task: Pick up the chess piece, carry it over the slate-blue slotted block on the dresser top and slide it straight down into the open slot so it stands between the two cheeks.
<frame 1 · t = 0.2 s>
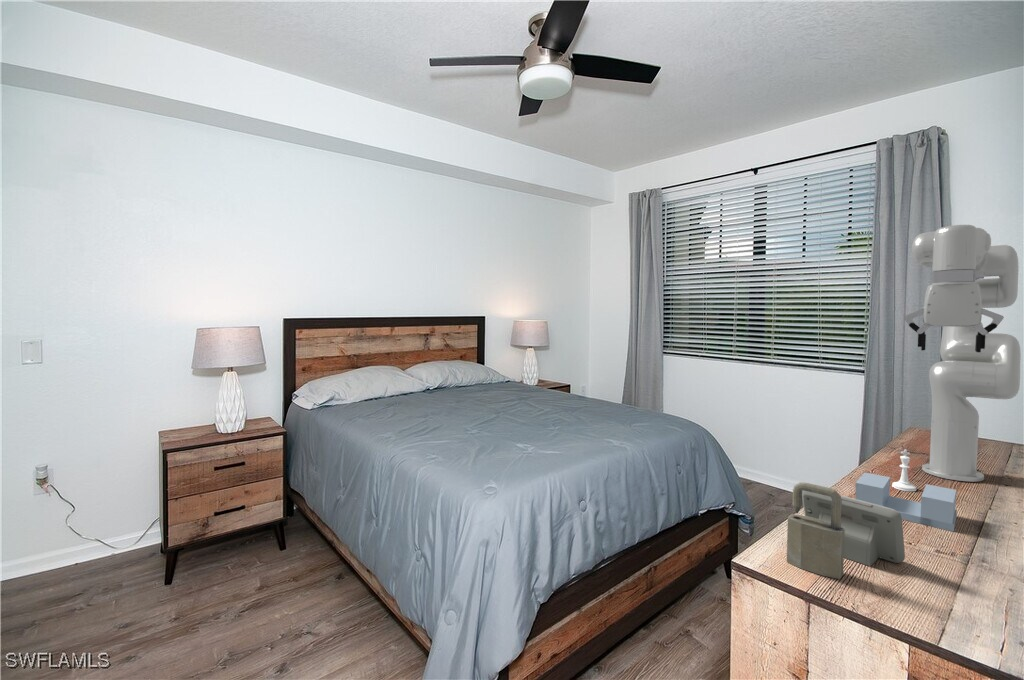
hand: (949, 351, 113), 36 cm above the dresser, fingers open, 9 cm apart
chess piece: (903, 488, 122), on the dresser
slot block: (903, 512, 107), on the dresser
padlock: (814, 569, 85), on the dresser
digital clock: (849, 551, 91), on the dresser
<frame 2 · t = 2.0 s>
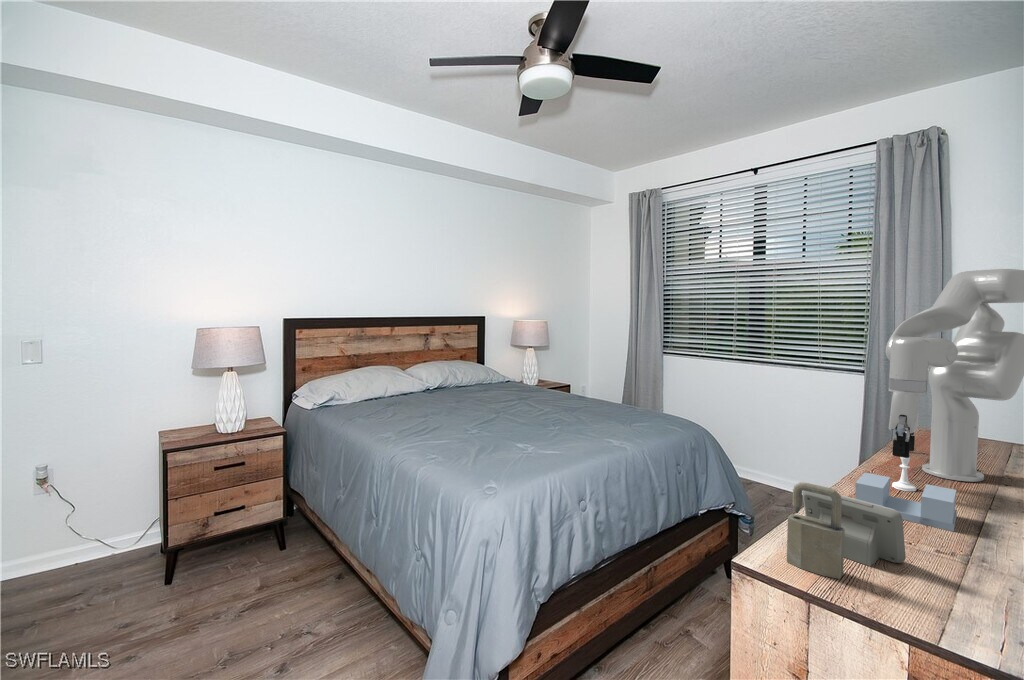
hand: (903, 453, 121), 9 cm above the dresser, fingers open, 9 cm apart
nothing on the dresser moved.
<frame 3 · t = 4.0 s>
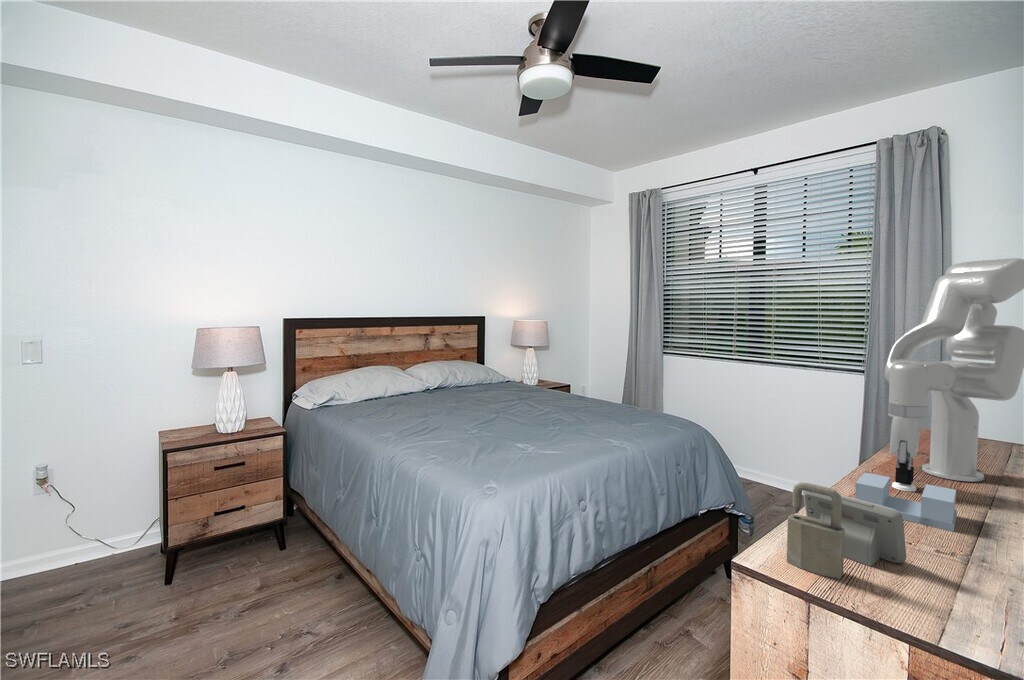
hand: (904, 481, 122), 2 cm above the dresser, fingers closed on chess piece
chess piece: (903, 488, 122), on the dresser, touching gripper
everything else where it was.
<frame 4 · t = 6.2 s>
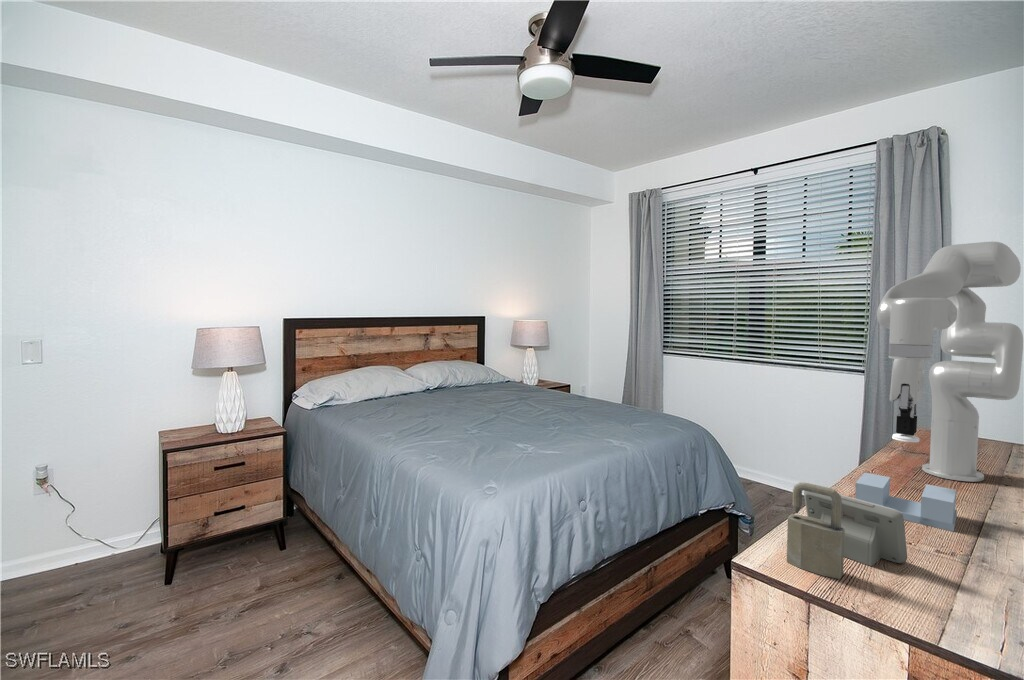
hand: (906, 432, 108), 18 cm above the dresser, fingers closed on chess piece
chess piece: (905, 440, 108), point 16 cm above the dresser, touching gripper
everything else where it was.
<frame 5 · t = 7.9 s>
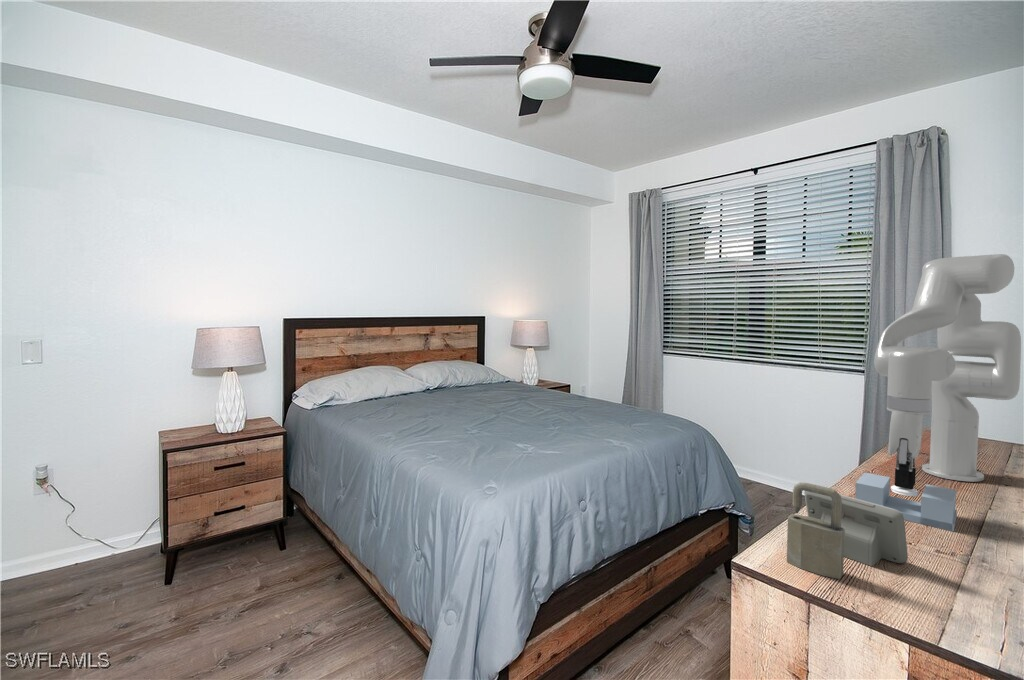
hand: (904, 485, 107), 6 cm above the dresser, fingers closed on chess piece
chess piece: (904, 493, 107), point 4 cm above the dresser, touching gripper
everything else where it was.
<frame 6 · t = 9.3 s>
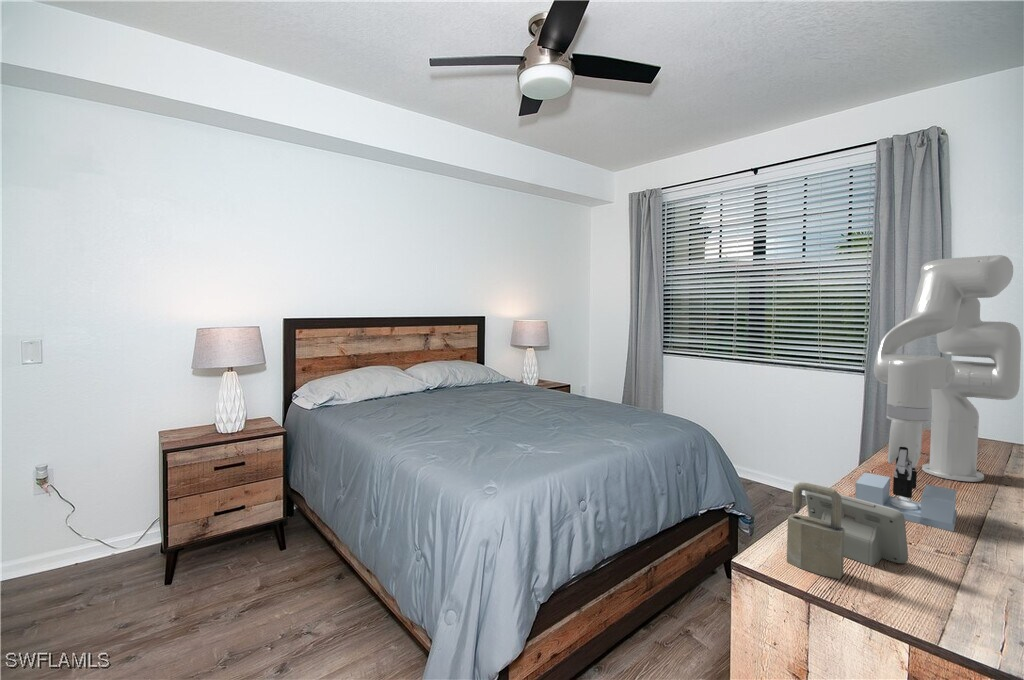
hand: (904, 490, 107), 5 cm above the dresser, fingers open, 7 cm apart
chess piece: (904, 506, 108), point 1 cm above the dresser, touching slot block
everything else where it was.
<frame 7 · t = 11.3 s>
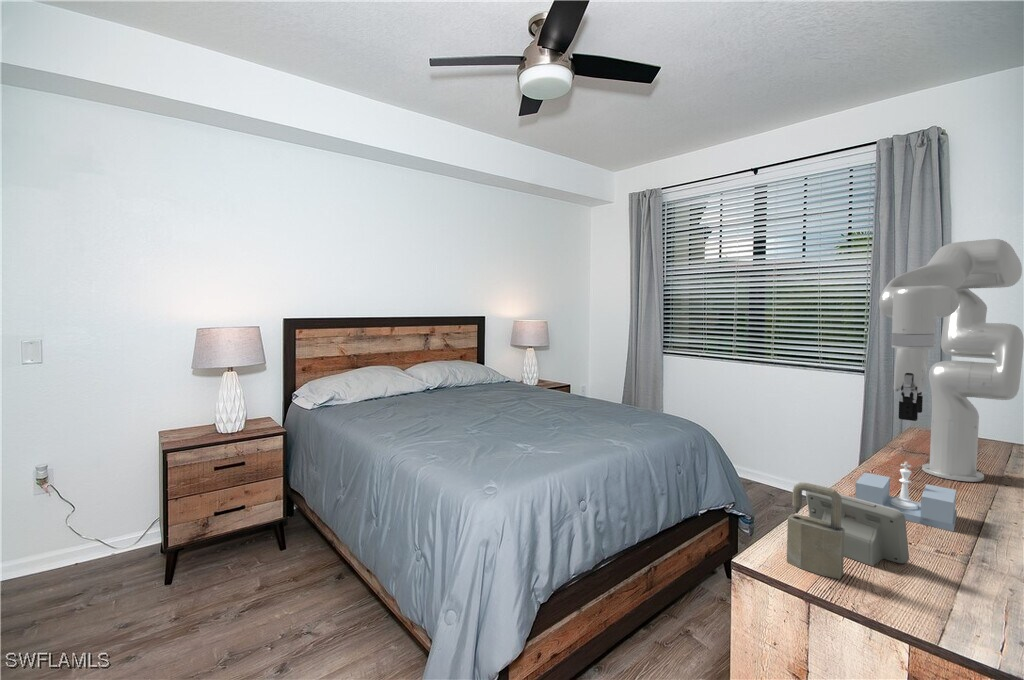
hand: (910, 415, 109), 21 cm above the dresser, fingers open, 9 cm apart
nothing on the dresser moved.
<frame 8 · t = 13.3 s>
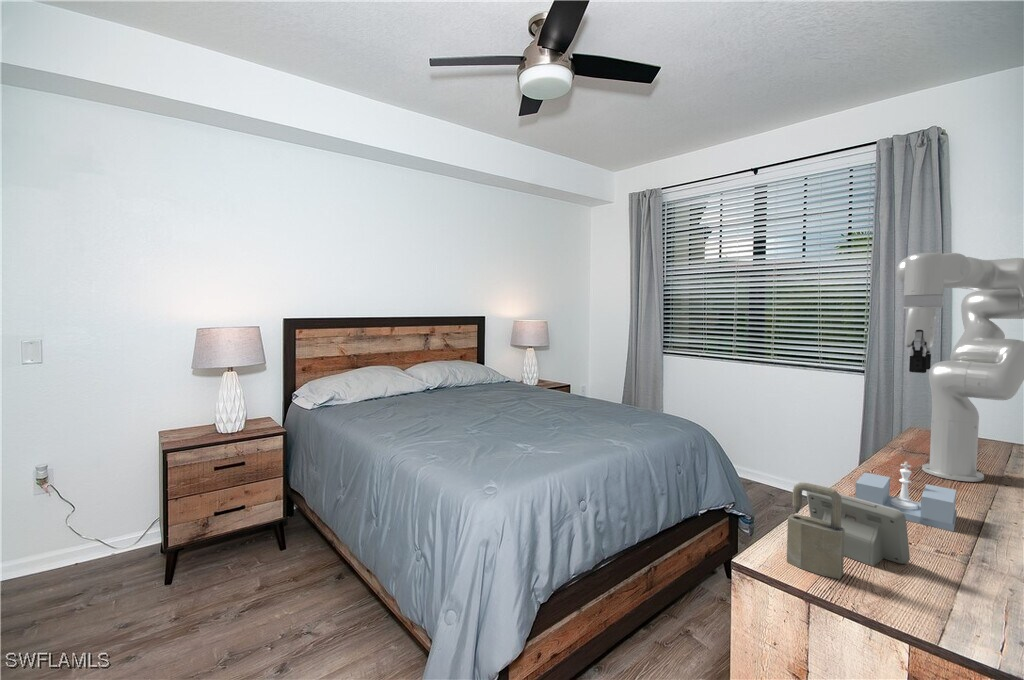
hand: (919, 370, 120), 30 cm above the dresser, fingers open, 9 cm apart
nothing on the dresser moved.
at the end: chess piece inside the target area on the slot block (0.2 cm from its centre), point 1.3 cm above the slot block's base; chess piece tilted 0°; the gripper is holding nothing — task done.
